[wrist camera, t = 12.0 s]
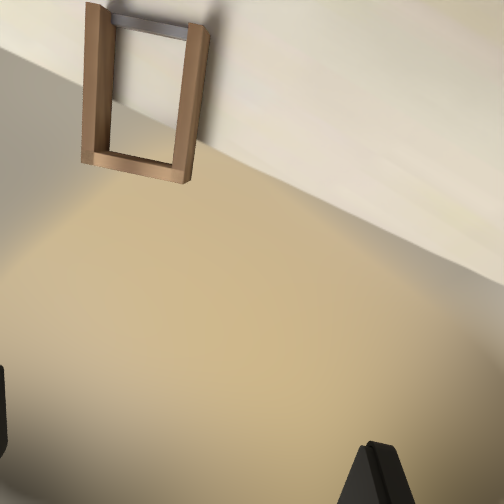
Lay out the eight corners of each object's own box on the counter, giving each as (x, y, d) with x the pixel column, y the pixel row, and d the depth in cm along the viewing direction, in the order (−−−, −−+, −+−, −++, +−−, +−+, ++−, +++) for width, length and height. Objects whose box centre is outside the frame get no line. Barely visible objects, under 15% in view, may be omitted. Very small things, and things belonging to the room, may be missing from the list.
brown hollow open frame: (210, 35, 31) (203, 25, 28) (190, 180, 35) (182, 184, 32) (103, 13, 31) (85, 1, 28) (97, 160, 35) (81, 162, 33)
